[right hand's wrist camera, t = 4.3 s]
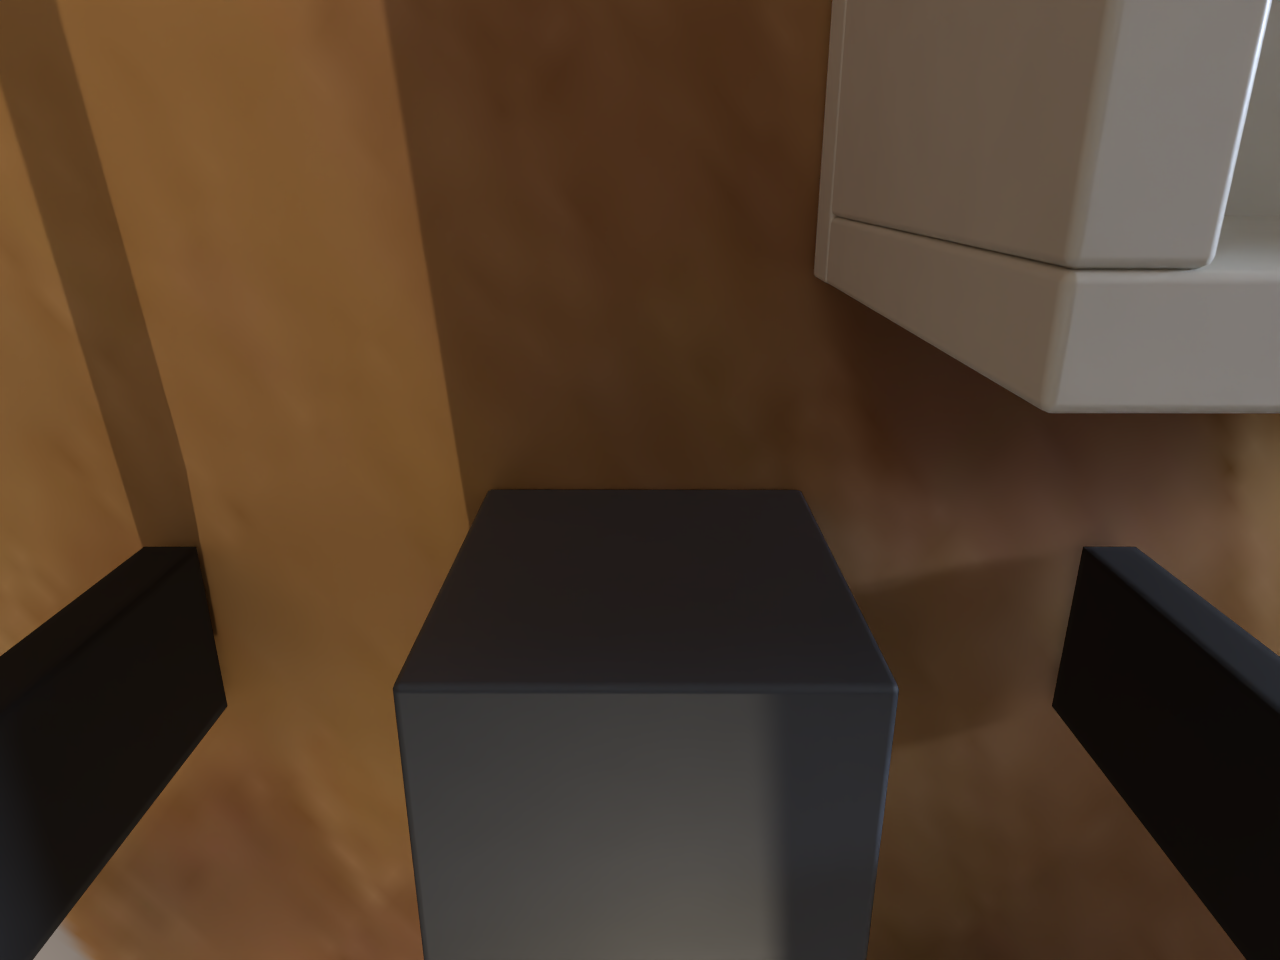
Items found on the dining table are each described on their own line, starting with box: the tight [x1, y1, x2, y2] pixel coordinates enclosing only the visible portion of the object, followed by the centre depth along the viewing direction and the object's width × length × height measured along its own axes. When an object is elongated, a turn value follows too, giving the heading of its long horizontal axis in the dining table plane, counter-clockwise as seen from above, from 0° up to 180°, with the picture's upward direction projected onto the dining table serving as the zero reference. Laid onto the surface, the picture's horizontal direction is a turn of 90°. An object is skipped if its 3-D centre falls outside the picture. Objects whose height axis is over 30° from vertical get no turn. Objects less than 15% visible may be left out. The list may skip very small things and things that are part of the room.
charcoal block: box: [393, 490, 899, 960], centre depth 11 cm, size 4×4×5 cm
